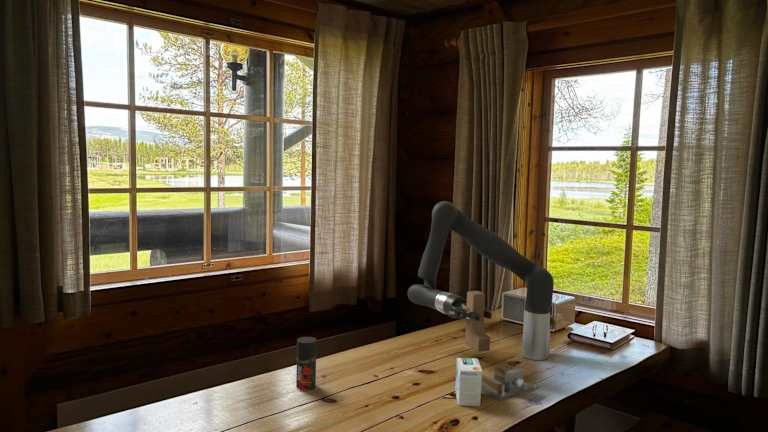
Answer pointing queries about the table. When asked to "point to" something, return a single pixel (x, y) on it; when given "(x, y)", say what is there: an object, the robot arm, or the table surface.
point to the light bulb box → (468, 381)
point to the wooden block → (476, 323)
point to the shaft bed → (509, 384)
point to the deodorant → (306, 363)
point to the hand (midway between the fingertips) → (485, 316)
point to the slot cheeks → (493, 383)
